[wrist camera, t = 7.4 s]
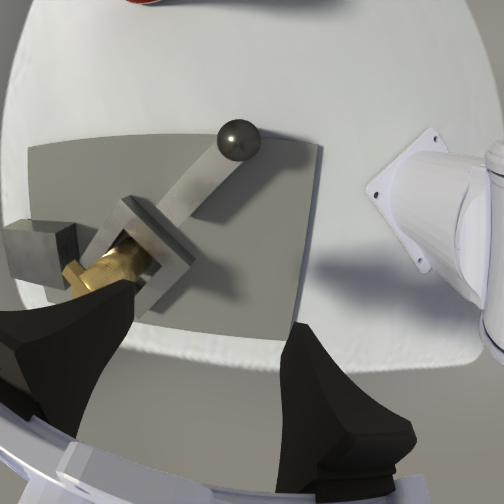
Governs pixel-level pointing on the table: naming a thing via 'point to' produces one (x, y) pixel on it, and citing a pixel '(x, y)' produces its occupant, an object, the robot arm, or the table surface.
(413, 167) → the robot arm
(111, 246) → the grey block and frame
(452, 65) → the table surface
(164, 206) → the lever
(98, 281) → the key peg
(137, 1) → the soda can
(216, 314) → the mat
